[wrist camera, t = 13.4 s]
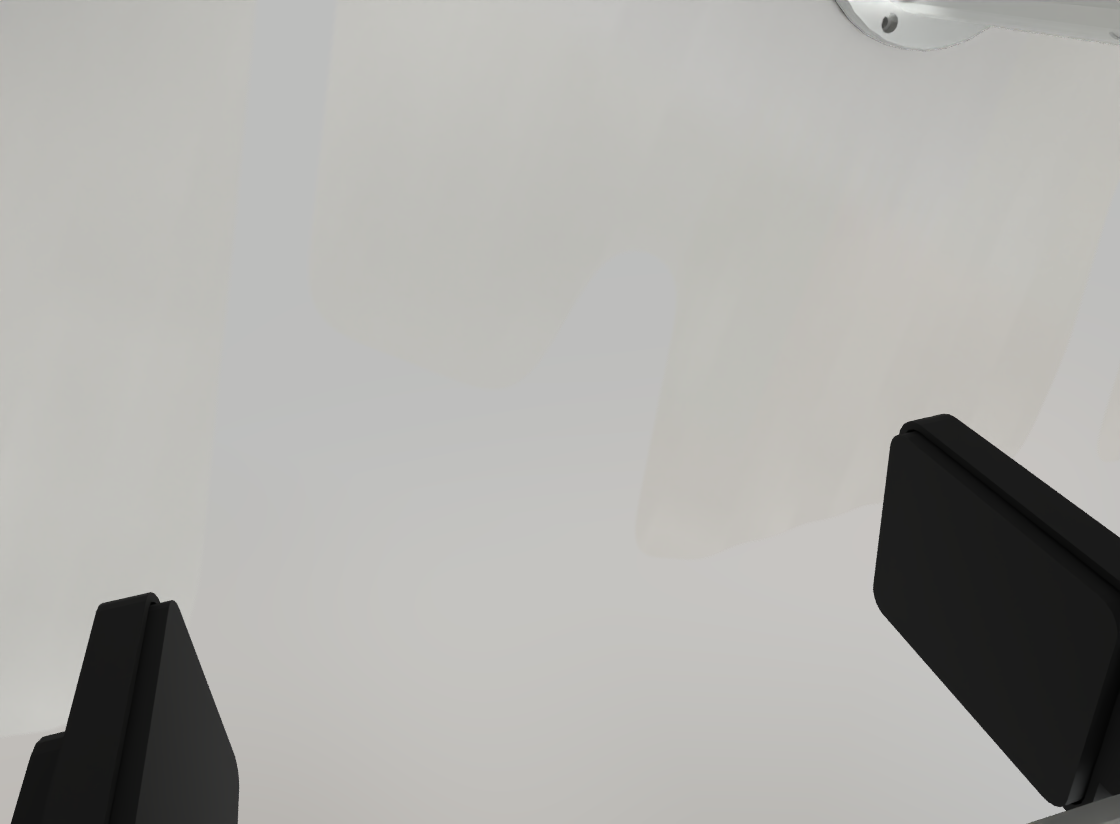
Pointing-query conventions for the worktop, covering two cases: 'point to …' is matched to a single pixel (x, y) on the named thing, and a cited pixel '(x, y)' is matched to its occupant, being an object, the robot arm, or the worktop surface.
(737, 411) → the worktop surface
